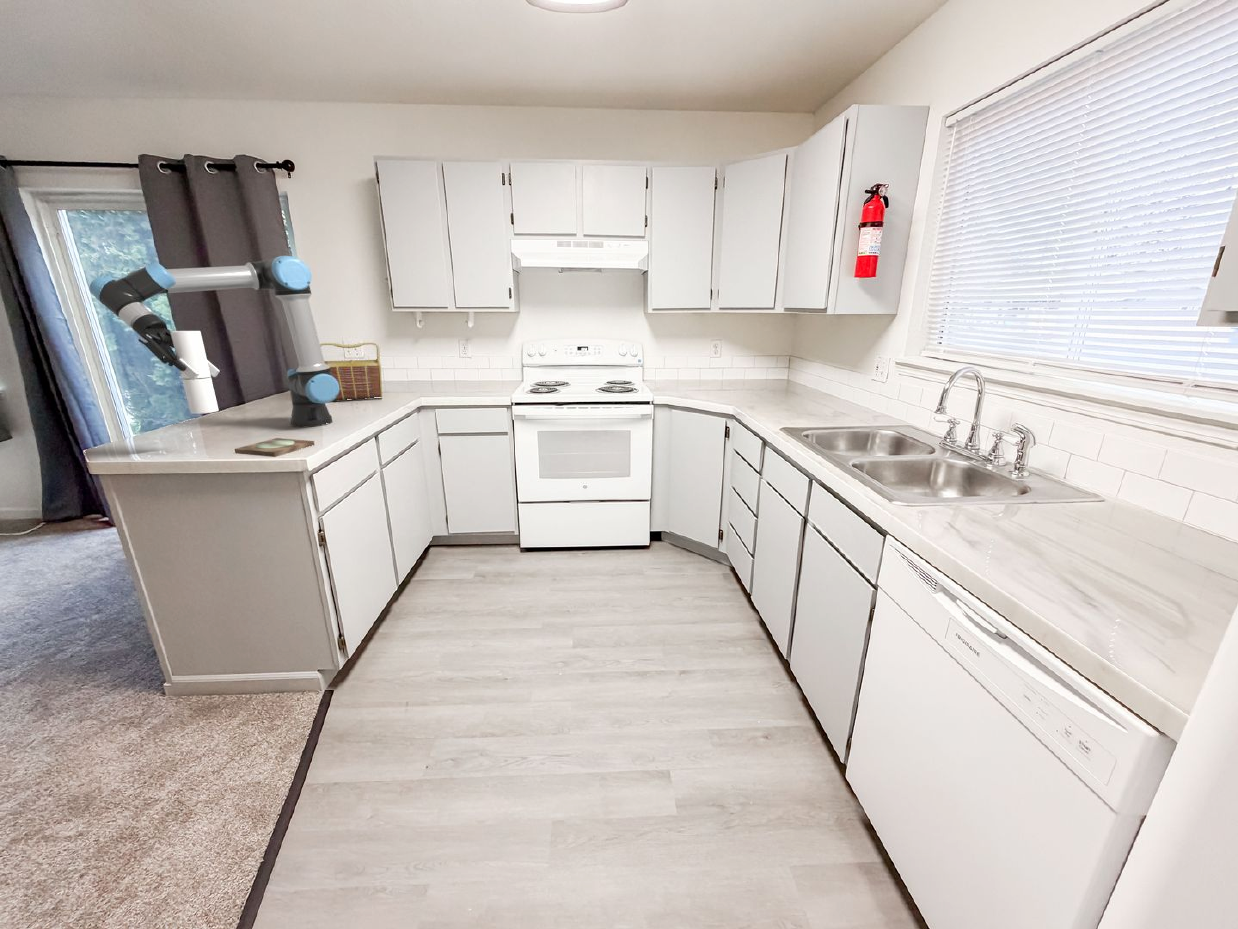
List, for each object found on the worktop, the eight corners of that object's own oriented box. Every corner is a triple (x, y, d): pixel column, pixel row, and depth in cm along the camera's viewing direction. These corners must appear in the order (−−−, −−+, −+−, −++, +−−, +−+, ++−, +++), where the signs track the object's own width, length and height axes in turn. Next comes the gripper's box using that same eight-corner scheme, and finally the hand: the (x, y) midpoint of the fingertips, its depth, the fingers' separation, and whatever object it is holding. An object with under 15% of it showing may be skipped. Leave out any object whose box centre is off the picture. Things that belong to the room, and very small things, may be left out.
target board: (277, 442, 180) (276, 437, 180) (314, 445, 177) (313, 440, 176) (235, 453, 166) (234, 448, 165) (274, 456, 162) (273, 451, 161)
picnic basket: (325, 404, 256) (315, 344, 248) (326, 397, 278) (317, 341, 270) (387, 400, 270) (380, 343, 261) (383, 394, 291) (377, 341, 283)
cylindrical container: (215, 408, 166) (197, 330, 158) (221, 411, 161) (203, 331, 154) (187, 411, 160) (167, 331, 153) (193, 414, 156) (173, 331, 149)
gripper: (168, 329, 164) (226, 379, 168) (104, 331, 145) (171, 388, 149) (179, 312, 162) (238, 363, 166) (116, 312, 143) (184, 370, 147)
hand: (206, 375), depth 157 cm, fingers closed on cylindrical container, 7 cm apart
